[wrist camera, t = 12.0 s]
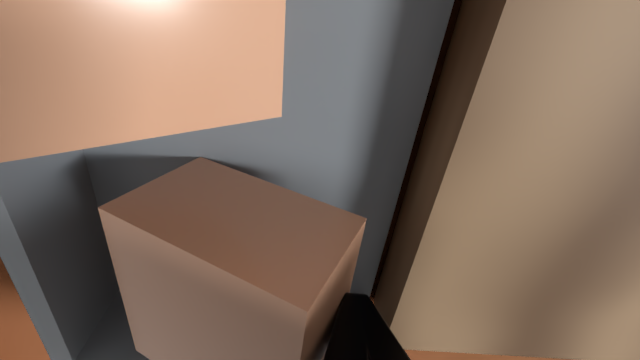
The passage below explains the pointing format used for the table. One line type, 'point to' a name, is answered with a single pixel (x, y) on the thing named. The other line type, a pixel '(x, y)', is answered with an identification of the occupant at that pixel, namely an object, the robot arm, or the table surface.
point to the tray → (233, 164)
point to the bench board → (525, 189)
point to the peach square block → (229, 265)
